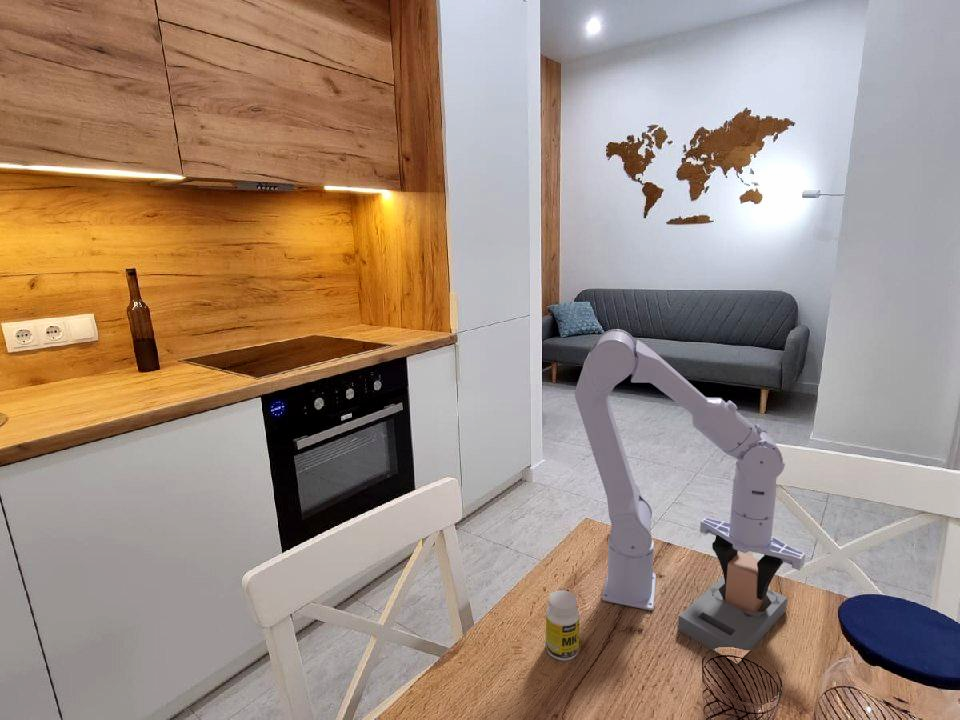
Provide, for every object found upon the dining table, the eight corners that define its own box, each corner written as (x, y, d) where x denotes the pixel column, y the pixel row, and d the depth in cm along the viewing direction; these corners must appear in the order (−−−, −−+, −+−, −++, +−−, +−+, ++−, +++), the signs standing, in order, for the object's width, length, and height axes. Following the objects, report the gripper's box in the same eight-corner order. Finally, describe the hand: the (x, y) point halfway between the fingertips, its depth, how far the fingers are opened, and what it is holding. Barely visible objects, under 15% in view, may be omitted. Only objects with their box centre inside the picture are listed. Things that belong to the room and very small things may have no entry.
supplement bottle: (563, 667, 73) (563, 615, 71) (539, 648, 76) (538, 598, 74) (585, 649, 76) (586, 599, 74) (561, 632, 79) (561, 583, 77)
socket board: (737, 665, 72) (739, 649, 71) (677, 629, 79) (678, 615, 78) (785, 611, 82) (787, 597, 81) (728, 583, 89) (729, 570, 88)
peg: (724, 602, 82) (727, 563, 81) (735, 590, 85) (739, 552, 83) (752, 615, 79) (756, 575, 78) (763, 602, 82) (767, 563, 80)
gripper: (693, 503, 81) (688, 579, 84) (796, 539, 71) (787, 625, 74) (713, 487, 86) (708, 560, 89) (813, 520, 75) (803, 601, 78)
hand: (745, 588), depth 82 cm, fingers closed on peg, 4 cm apart
